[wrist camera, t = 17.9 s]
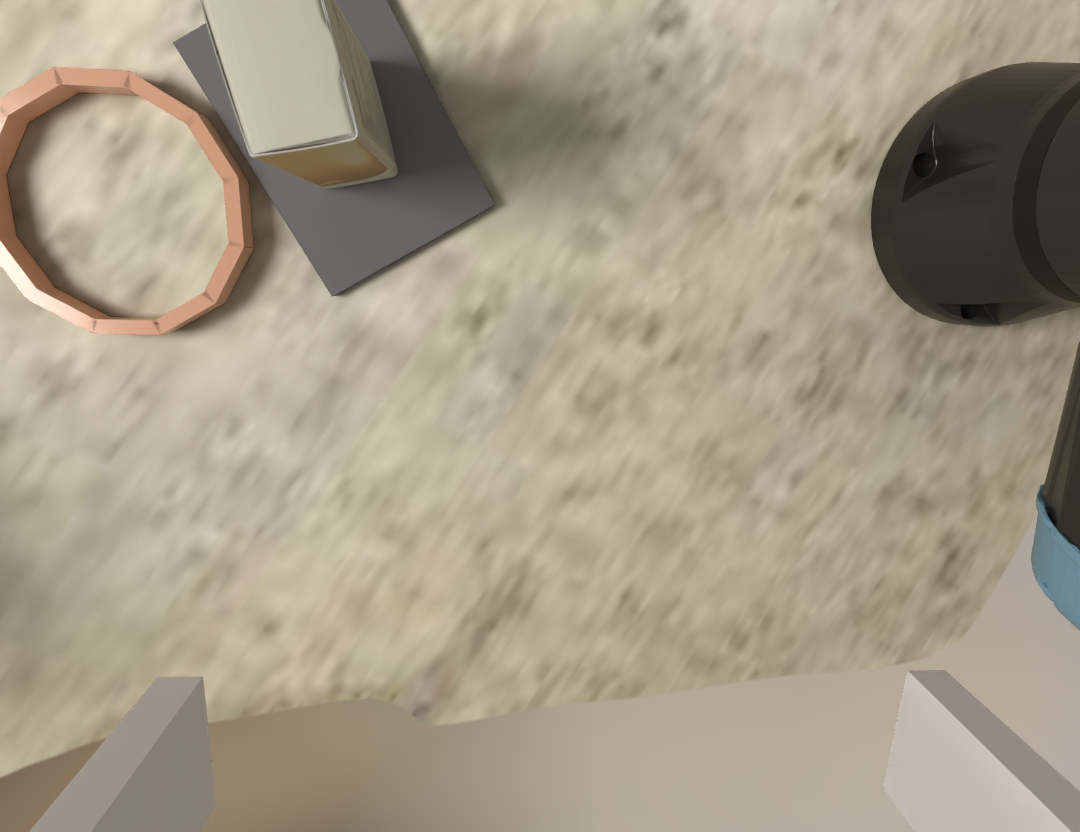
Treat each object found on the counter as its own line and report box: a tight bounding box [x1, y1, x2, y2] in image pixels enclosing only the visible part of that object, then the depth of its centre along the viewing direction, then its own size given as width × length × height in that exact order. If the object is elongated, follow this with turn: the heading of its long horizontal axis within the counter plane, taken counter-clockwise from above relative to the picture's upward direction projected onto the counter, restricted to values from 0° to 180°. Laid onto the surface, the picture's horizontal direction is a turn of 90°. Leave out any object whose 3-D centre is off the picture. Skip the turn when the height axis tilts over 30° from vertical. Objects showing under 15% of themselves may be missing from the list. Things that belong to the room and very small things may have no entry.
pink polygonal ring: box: [0, 67, 254, 335], centre depth 33 cm, size 14×14×2 cm
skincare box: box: [200, 0, 398, 189], centre depth 28 cm, size 6×4×12 cm
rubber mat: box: [173, 0, 495, 296], centre depth 34 cm, size 11×15×1 cm
